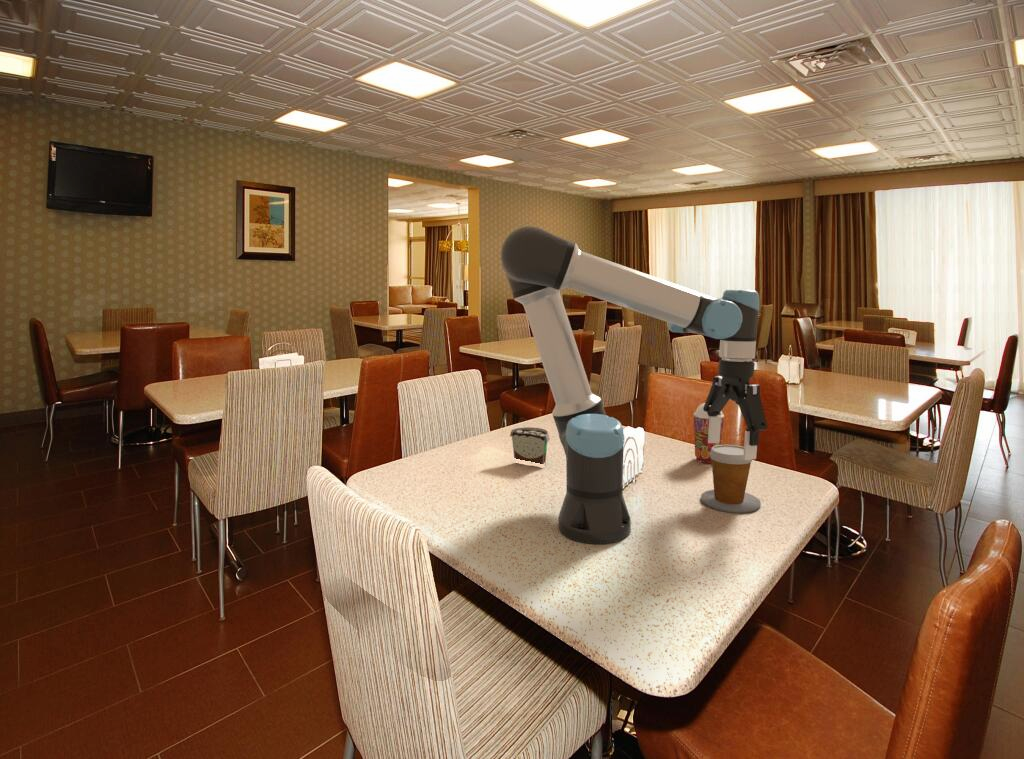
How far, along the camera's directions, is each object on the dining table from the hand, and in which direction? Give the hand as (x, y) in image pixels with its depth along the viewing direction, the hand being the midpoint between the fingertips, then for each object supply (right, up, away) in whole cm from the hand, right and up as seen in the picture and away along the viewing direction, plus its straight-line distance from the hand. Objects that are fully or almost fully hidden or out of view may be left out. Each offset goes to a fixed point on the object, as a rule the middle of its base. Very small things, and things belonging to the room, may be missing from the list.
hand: (730, 450), depth 129 cm
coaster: (+1, -12, +2) cm, 13 cm away
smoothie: (+6, -7, +34) cm, 35 cm away
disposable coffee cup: (0, -12, +2) cm, 12 cm away
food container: (-44, -8, +34) cm, 56 cm away
